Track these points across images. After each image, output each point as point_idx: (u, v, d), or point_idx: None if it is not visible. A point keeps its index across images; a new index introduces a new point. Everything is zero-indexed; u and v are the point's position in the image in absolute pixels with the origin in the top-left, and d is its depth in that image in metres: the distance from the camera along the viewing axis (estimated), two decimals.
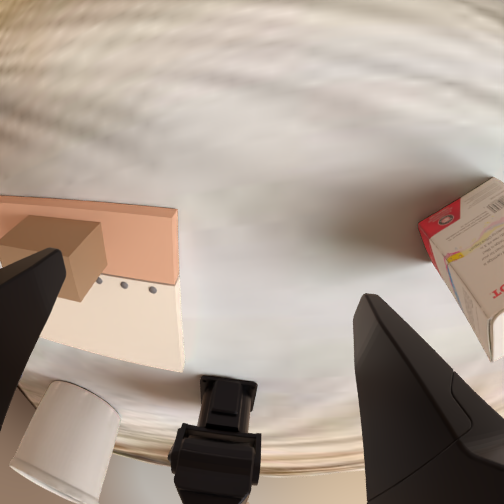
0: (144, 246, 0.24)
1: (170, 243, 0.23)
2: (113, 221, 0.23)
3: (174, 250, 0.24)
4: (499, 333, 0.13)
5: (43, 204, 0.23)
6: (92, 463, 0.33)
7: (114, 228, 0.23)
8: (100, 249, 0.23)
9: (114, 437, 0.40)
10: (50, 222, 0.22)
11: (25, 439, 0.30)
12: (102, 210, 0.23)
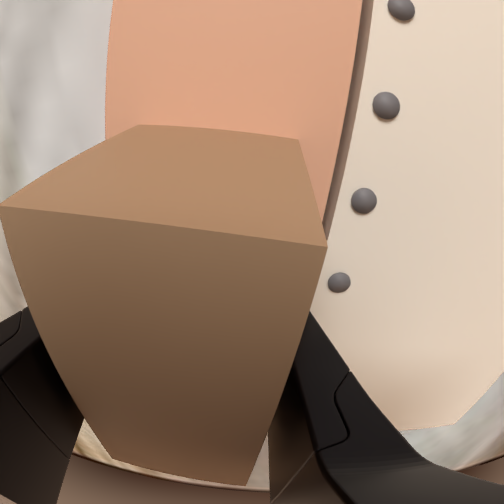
0: None
1: None
2: (133, 80, 0.07)
3: None
4: None
5: None
6: None
7: (156, 79, 0.07)
8: (212, 134, 0.07)
9: None
10: None
11: None
12: (107, 115, 0.07)
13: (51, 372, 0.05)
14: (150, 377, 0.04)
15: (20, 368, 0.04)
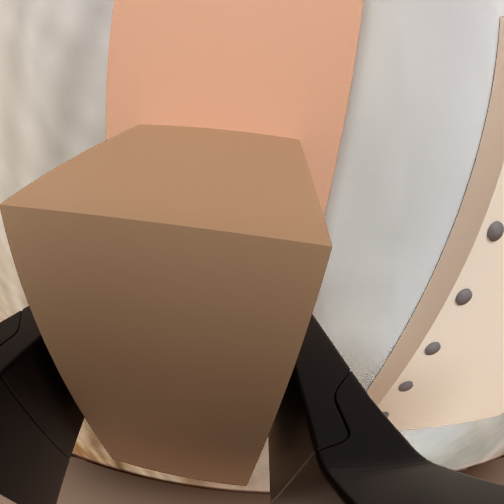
0: None
1: None
2: (134, 79, 0.07)
3: None
4: None
5: None
6: None
7: (157, 78, 0.07)
8: (213, 134, 0.07)
9: None
10: None
11: None
12: (108, 115, 0.07)
13: (51, 372, 0.05)
14: (152, 377, 0.04)
15: (20, 368, 0.04)
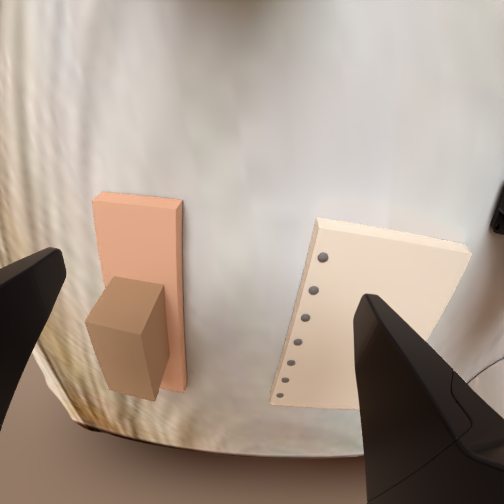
0: (130, 236, 0.20)
1: (119, 205, 0.19)
2: (109, 262, 0.22)
3: (134, 201, 0.19)
4: None
5: None
6: None
7: (116, 263, 0.22)
8: (135, 286, 0.22)
9: None
10: None
11: None
12: (102, 270, 0.22)
13: None
14: (118, 354, 0.19)
15: None
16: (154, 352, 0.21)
